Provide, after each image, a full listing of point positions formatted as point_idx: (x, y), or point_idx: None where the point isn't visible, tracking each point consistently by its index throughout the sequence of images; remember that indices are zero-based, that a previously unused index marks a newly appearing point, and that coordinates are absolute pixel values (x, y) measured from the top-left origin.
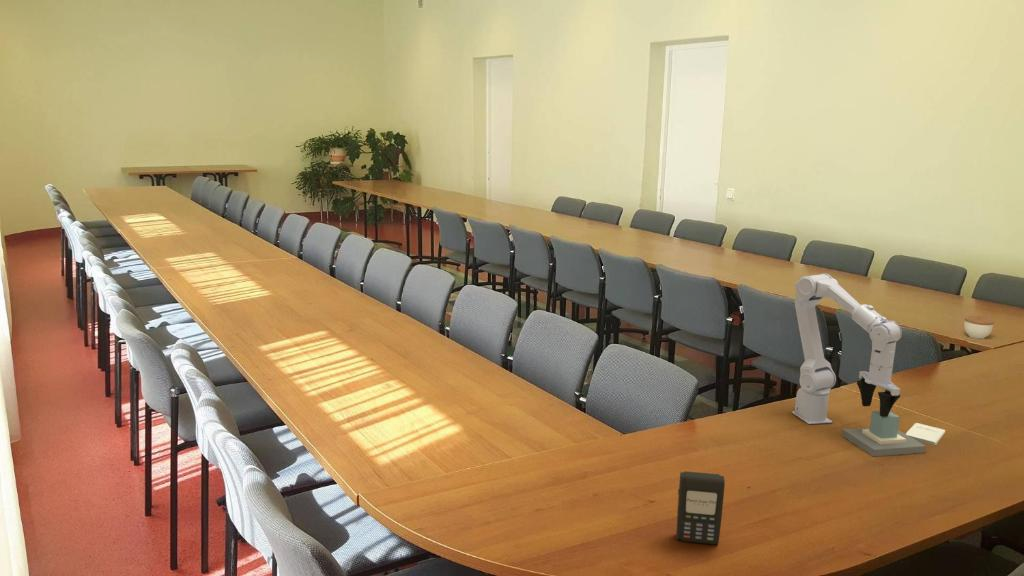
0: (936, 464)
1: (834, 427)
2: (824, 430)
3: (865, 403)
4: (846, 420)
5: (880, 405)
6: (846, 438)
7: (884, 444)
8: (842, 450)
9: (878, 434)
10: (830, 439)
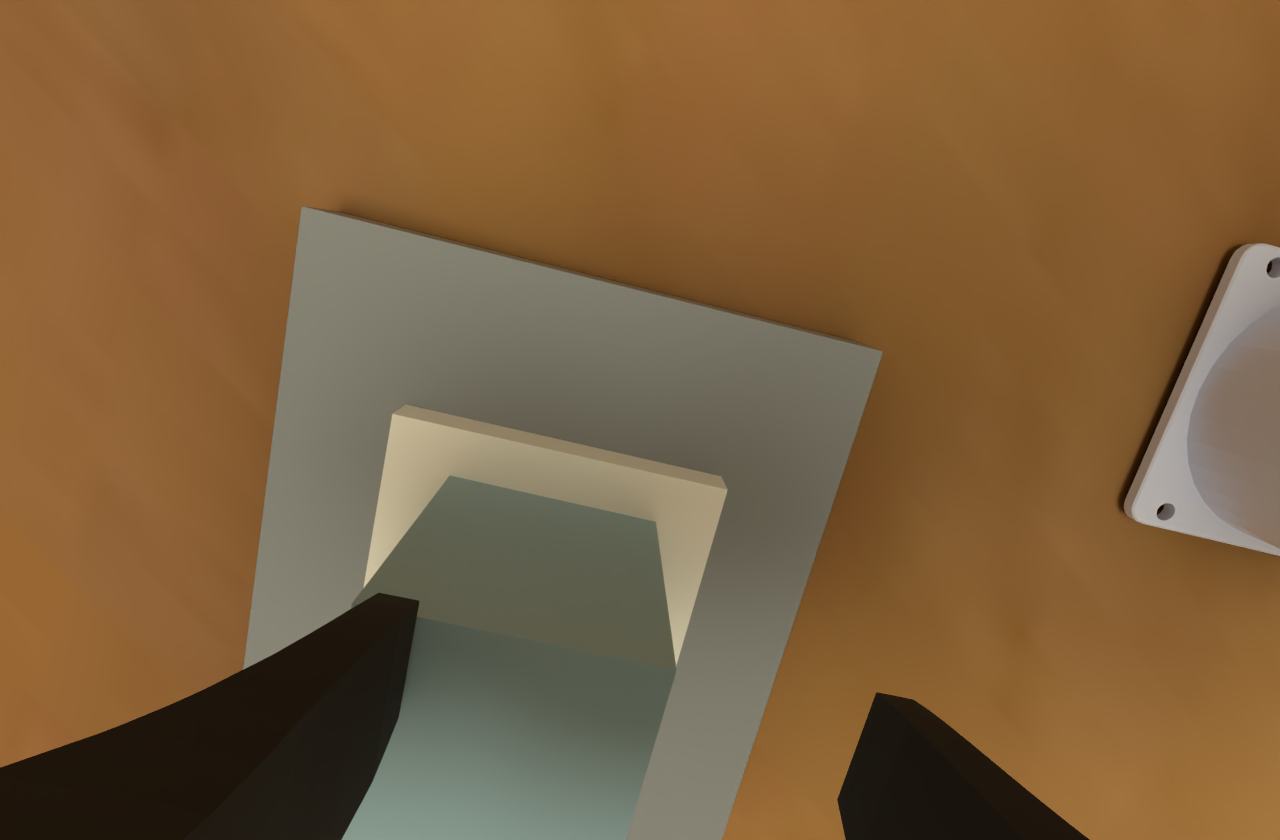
0: (33, 631)
1: (1038, 447)
2: (1043, 283)
3: (890, 757)
4: (1085, 686)
5: (293, 702)
6: (785, 324)
7: (385, 442)
8: (580, 13)
9: (491, 495)
10: (851, 141)
